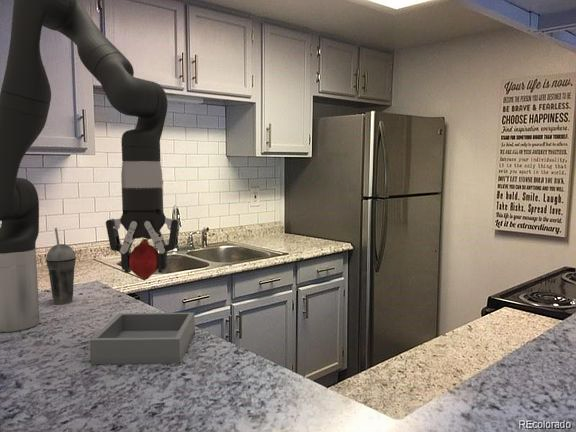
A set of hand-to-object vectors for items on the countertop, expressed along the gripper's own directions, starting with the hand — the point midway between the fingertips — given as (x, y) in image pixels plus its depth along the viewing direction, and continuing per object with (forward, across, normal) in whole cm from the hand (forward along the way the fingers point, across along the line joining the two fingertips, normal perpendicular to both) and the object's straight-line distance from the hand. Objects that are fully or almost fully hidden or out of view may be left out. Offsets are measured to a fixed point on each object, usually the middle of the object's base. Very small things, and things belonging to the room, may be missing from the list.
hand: (144, 271), depth 91 cm
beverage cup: (+15, -31, +33) cm, 48 cm away
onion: (+2, 0, 0) cm, 2 cm away
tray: (+15, 0, 0) cm, 15 cm away
